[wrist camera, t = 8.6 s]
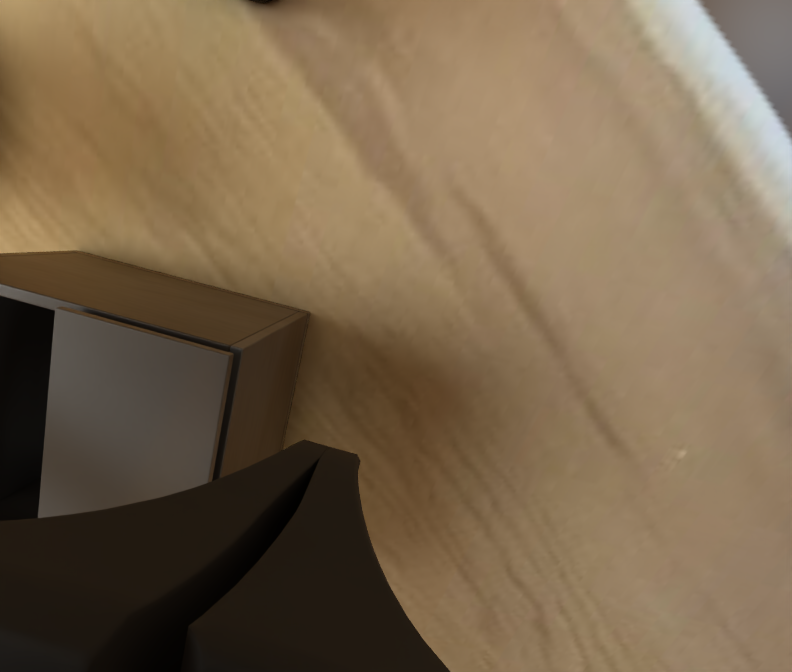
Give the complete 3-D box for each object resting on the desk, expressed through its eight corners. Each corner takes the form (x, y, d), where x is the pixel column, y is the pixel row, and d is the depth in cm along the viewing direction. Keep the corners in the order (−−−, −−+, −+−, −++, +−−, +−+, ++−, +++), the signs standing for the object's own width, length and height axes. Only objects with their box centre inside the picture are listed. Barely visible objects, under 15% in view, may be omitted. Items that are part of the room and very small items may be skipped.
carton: (75, 250, 21) (-98, 257, 14) (310, 312, 21) (243, 349, 14) (56, 467, 24) (-101, 559, 17) (265, 528, 23) (190, 649, 16)
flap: (62, 305, 14) (54, 307, 14) (234, 353, 14) (229, 356, 13) (36, 610, 16) (29, 616, 16) (182, 657, 16) (176, 665, 16)
